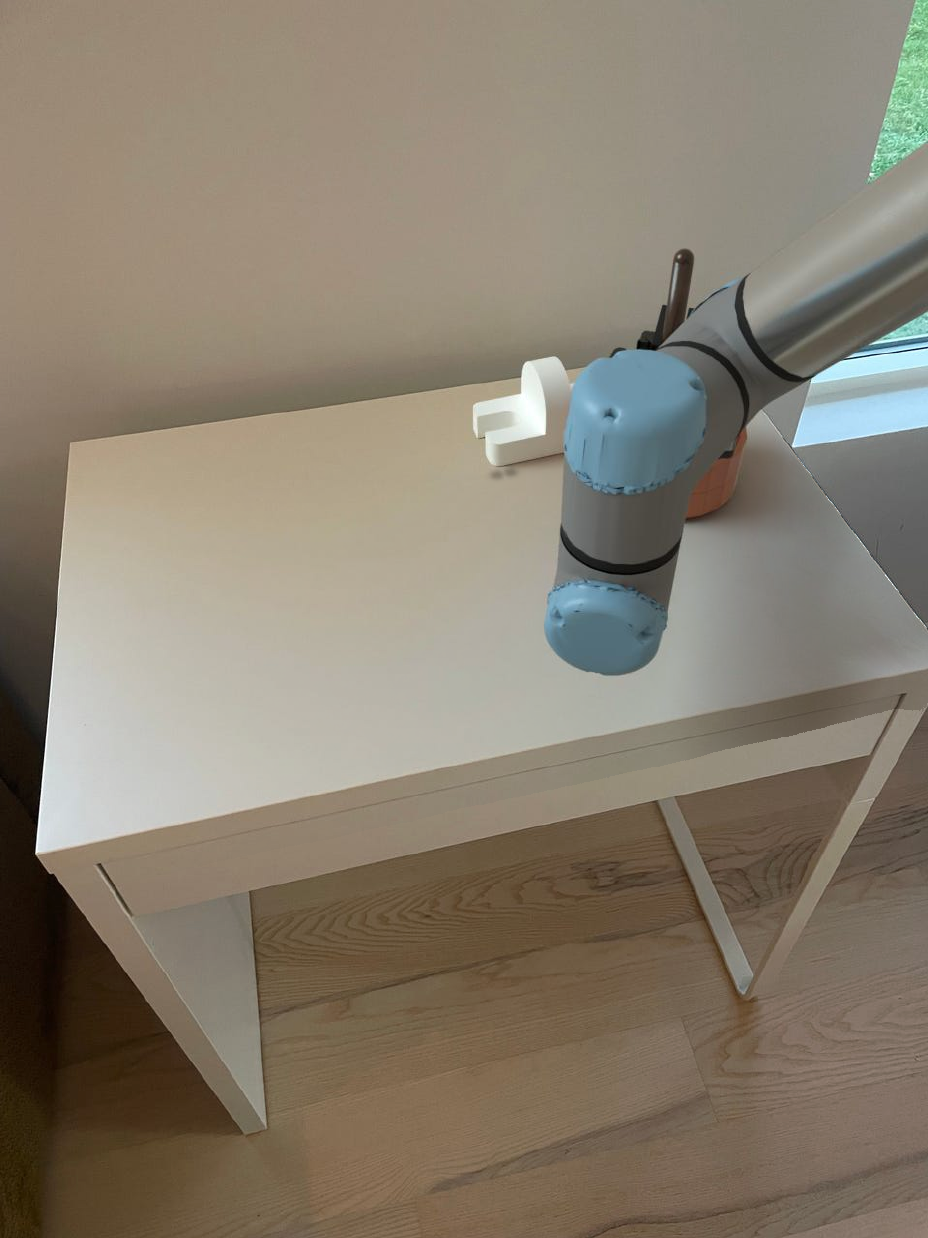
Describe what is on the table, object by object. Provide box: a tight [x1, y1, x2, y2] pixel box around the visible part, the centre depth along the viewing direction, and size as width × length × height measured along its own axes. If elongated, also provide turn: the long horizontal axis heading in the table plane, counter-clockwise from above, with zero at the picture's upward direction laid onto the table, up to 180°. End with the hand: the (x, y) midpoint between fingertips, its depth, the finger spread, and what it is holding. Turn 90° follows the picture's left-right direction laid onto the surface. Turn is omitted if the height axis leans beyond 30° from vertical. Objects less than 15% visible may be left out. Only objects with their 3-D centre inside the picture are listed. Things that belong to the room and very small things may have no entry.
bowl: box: [686, 426, 748, 519], centre depth 88 cm, size 12×12×6 cm
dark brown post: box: [661, 248, 695, 345], centre depth 82 cm, size 5×5×19 cm
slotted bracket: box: [472, 355, 575, 467], centre depth 92 cm, size 13×7×8 cm, turn 107°
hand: (677, 320), depth 85 cm, fingers closed on dark brown post, 2 cm apart
